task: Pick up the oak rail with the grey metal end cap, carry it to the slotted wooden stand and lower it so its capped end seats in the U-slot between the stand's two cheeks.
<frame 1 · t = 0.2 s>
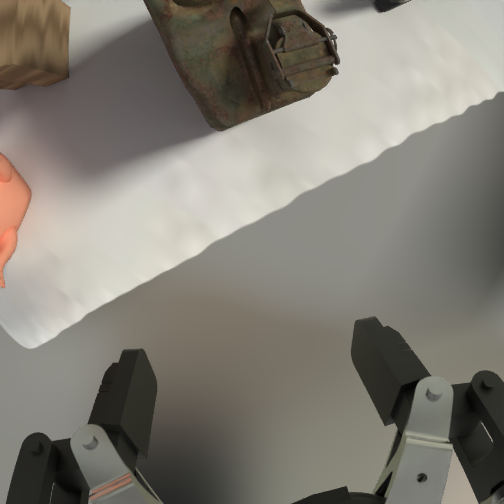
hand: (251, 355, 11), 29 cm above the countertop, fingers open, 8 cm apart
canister: (216, 58, 30), on the countertop
pot: (3, 203, 33), on the countertop
slotted wooden stand: (56, 45, 26), on the countertop
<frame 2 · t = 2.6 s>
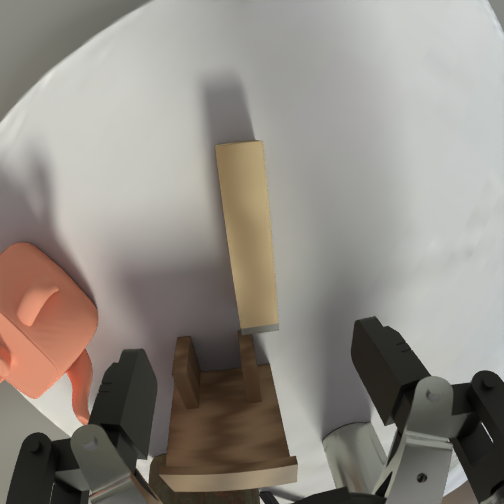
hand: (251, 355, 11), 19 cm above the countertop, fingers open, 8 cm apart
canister: (201, 457, 44), on the countertop
pot: (43, 303, 30), on the countertop
rail: (245, 226, 28), on the countertop
slotted wooden stand: (224, 380, 36), on the countertop
gun: (285, 497, 57), on the countertop
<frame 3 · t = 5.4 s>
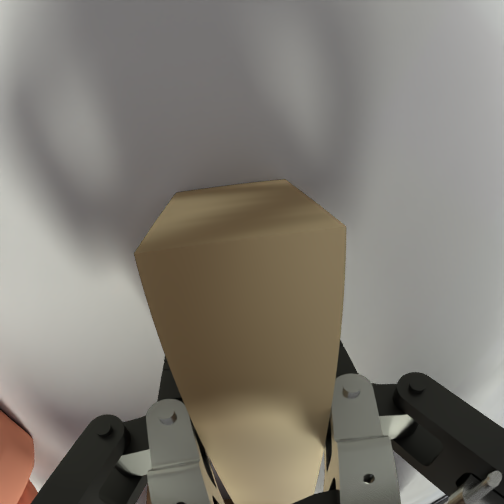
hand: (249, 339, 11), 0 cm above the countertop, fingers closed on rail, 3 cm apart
rail: (254, 370, 12), on the countertop, touching gripper
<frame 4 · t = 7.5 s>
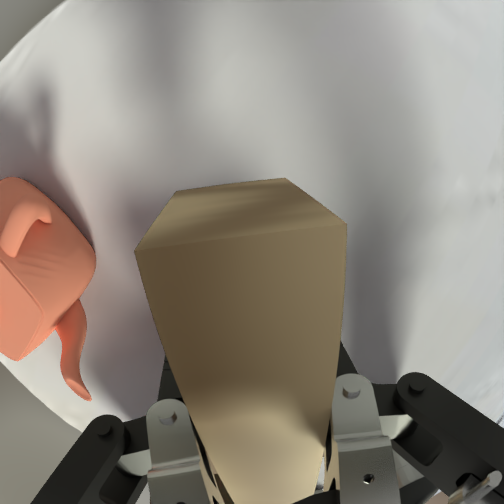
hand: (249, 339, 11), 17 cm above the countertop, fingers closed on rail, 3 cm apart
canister: (211, 440, 41), on the countertop
pot: (35, 252, 26), on the countertop
rail: (254, 369, 12), point 16 cm above the countertop, touching gripper
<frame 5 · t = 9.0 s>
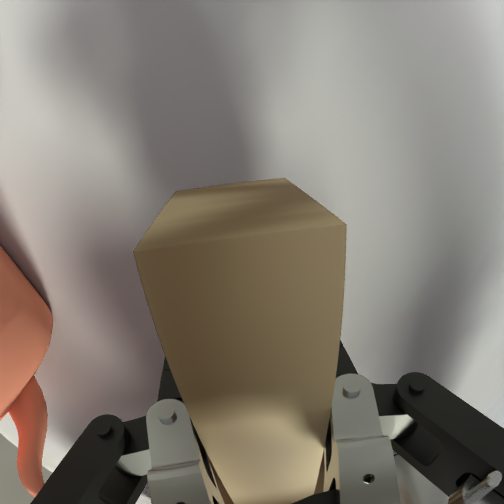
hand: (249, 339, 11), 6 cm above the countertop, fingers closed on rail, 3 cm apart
rail: (253, 370, 12), point 5 cm above the countertop, touching gripper
slotted wooden stand: (260, 419, 22), on the countertop
when the fingers open (2 cm above the countertop, at t = 9.9 s): rail drops 1 cm, on the countertop.
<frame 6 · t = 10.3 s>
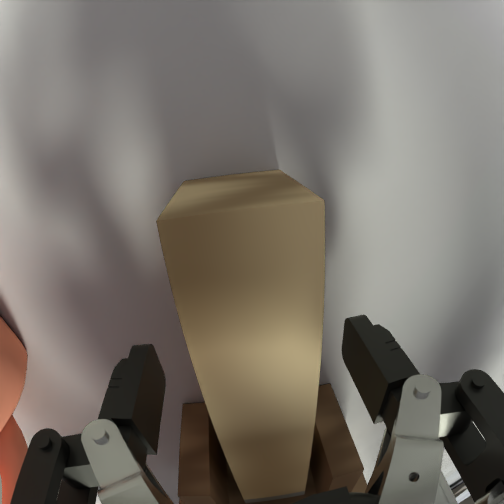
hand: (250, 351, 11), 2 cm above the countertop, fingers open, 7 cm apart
rail: (252, 346, 14), on the countertop
slotted wooden stand: (265, 456, 18), on the countertop
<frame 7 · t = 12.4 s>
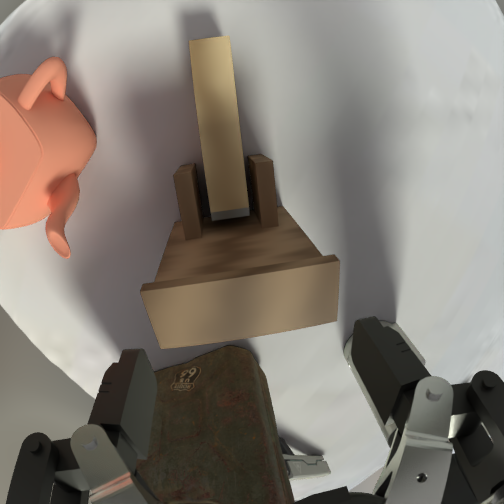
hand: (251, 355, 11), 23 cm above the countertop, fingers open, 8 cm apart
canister: (200, 374, 42), on the countertop
pot: (39, 149, 26), on the countertop
rail: (217, 122, 28), on the countertop
slotted wooden stand: (231, 230, 33), on the countertop
gun: (298, 448, 57), on the countertop
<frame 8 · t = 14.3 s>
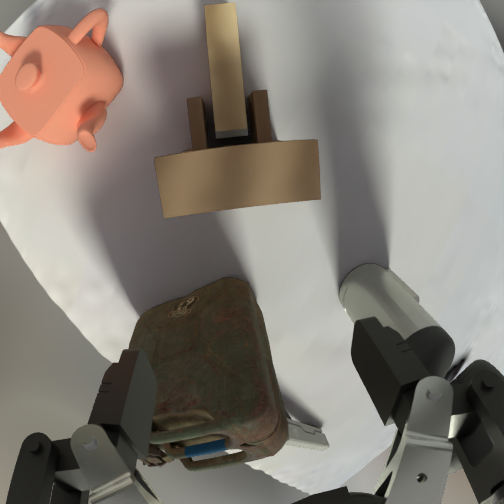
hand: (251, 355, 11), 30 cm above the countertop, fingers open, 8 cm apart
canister: (198, 312, 45), on the countertop
pot: (71, 91, 30), on the countertop
rail: (224, 71, 32), on the countertop
slotted wooden stand: (232, 160, 37), on the countertop
gun: (295, 415, 59), on the countertop
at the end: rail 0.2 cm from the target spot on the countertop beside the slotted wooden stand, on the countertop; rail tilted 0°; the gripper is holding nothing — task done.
